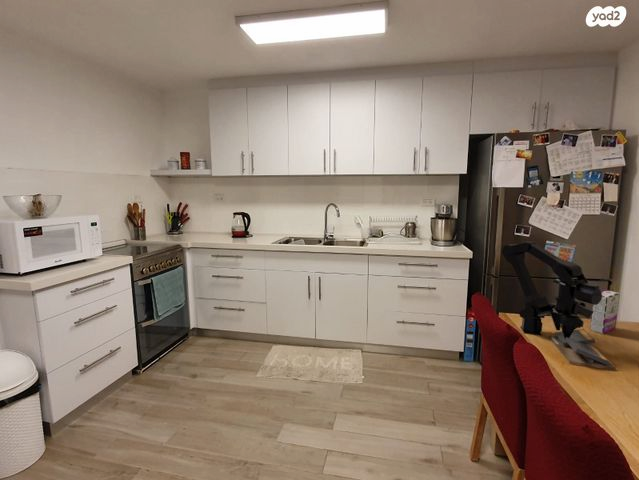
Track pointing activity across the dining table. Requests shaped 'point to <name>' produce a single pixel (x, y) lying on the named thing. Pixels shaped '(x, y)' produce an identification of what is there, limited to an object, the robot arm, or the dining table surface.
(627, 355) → the dining table surface
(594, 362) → the switch unit
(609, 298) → the candy bar box
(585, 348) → the rocker outer
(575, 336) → the block
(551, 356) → the dining table surface
